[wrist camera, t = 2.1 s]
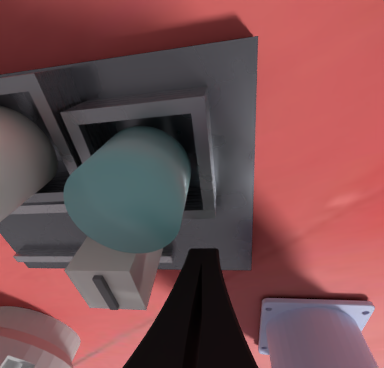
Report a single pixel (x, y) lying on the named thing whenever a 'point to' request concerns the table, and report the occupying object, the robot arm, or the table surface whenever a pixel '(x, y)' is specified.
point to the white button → (22, 160)
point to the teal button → (131, 191)
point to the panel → (153, 117)
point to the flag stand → (35, 340)
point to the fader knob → (113, 276)
